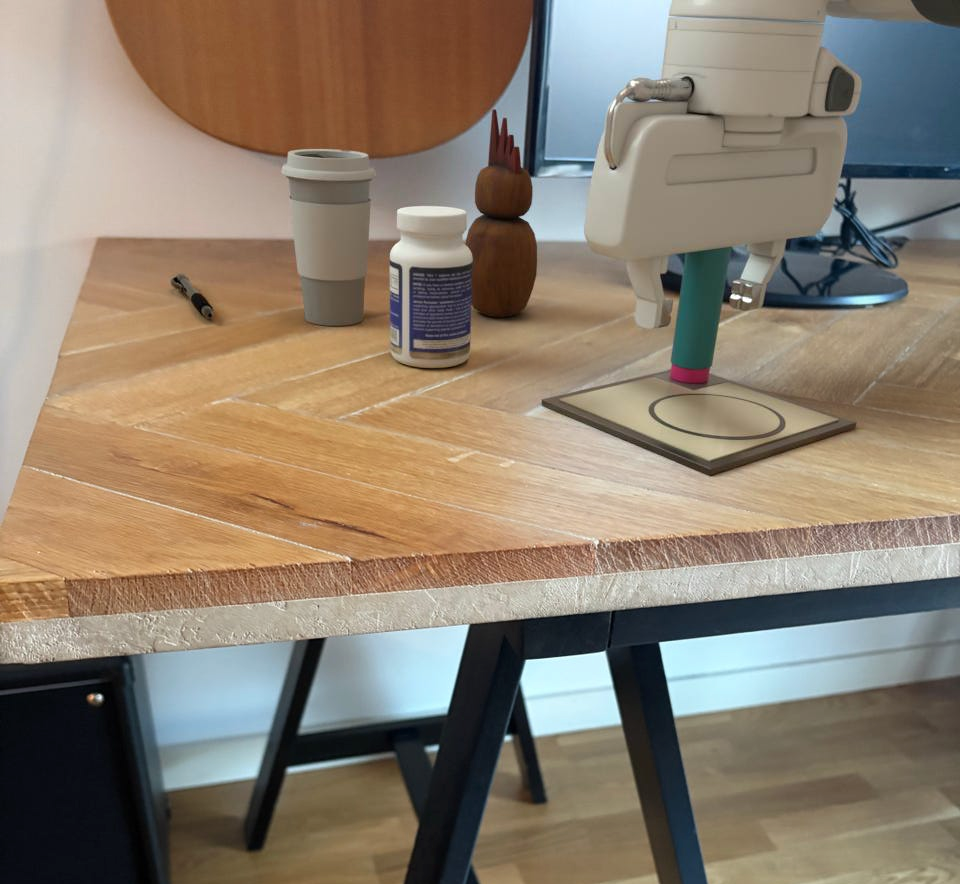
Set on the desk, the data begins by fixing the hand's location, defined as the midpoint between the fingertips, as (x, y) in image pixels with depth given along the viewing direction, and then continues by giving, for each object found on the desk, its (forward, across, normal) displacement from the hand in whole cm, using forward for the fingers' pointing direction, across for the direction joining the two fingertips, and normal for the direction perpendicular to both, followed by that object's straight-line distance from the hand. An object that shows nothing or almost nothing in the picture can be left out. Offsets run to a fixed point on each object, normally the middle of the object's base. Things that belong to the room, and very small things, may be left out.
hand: (700, 317), depth 66 cm
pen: (+5, -19, +38) cm, 42 cm away
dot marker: (+4, 0, 0) cm, 4 cm away
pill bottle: (+5, -12, +14) cm, 19 cm away
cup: (+5, -12, +28) cm, 30 cm away
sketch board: (+5, -4, -4) cm, 8 cm away
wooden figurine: (+5, +2, +22) cm, 23 cm away
